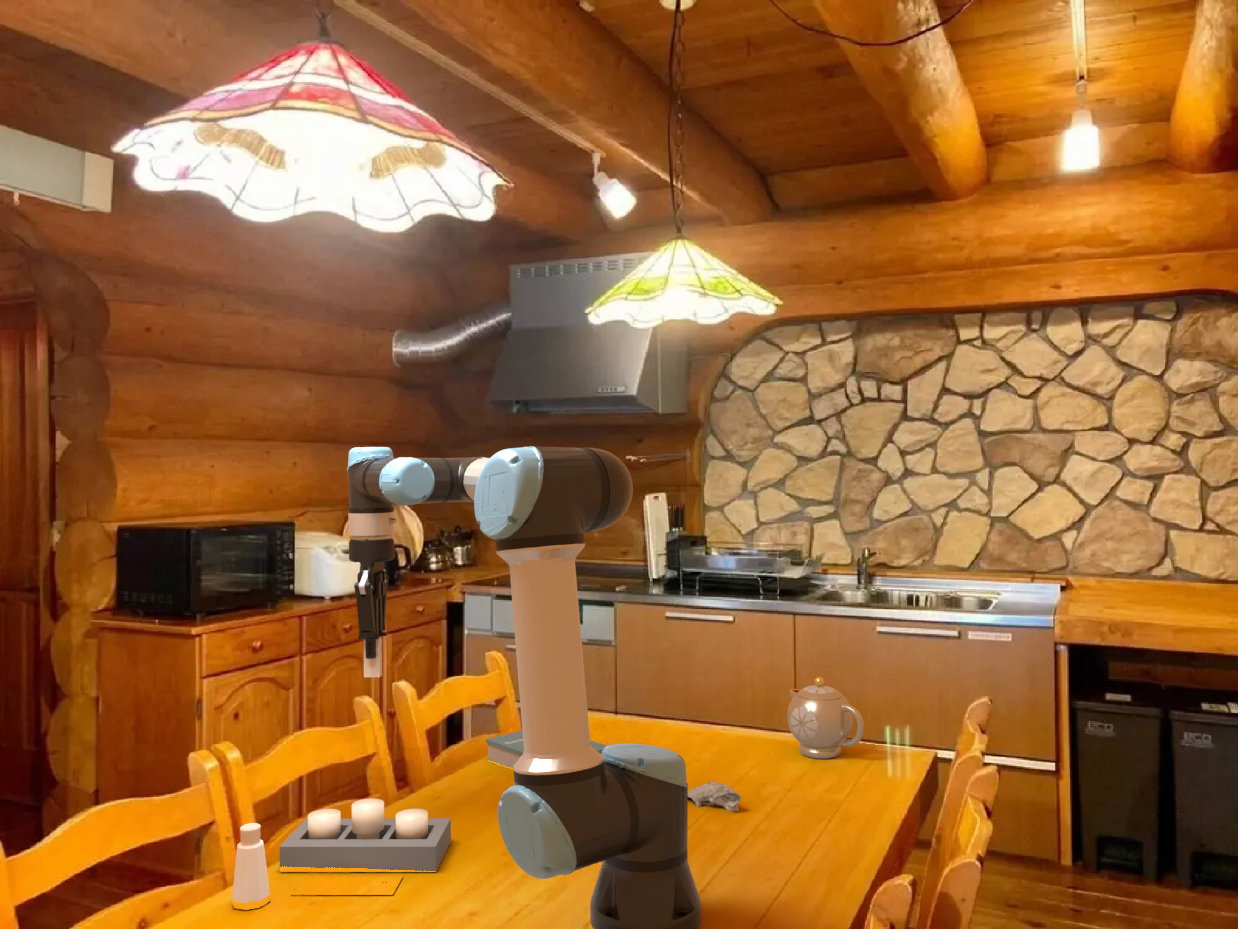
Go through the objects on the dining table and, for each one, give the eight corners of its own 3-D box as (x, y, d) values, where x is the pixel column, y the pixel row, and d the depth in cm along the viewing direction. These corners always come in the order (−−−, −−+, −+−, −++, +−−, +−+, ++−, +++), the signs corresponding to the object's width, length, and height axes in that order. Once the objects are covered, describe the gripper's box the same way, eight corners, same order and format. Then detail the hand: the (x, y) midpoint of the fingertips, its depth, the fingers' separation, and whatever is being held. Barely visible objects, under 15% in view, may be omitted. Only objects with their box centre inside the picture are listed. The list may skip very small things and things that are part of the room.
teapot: (772, 754, 210) (771, 677, 210) (808, 740, 220) (807, 667, 220) (846, 771, 198) (845, 690, 198) (881, 757, 207) (880, 678, 207)
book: (485, 763, 208) (485, 739, 208) (546, 747, 218) (546, 725, 218) (553, 788, 191) (553, 762, 191) (615, 770, 202) (614, 746, 202)
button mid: (379, 847, 154) (379, 809, 154) (347, 847, 155) (347, 809, 155) (387, 835, 159) (387, 798, 159) (357, 835, 160) (356, 798, 160)
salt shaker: (276, 894, 144) (275, 818, 144) (264, 910, 139) (263, 832, 139) (238, 895, 144) (237, 819, 144) (225, 912, 138) (224, 833, 138)
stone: (712, 820, 173) (712, 797, 173) (678, 797, 184) (678, 775, 184) (743, 815, 176) (744, 792, 175) (708, 793, 187) (709, 771, 187)
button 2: (424, 858, 154) (423, 819, 154) (392, 858, 154) (392, 820, 154) (431, 845, 159) (430, 808, 159) (400, 846, 159) (399, 808, 159)
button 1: (335, 858, 155) (334, 820, 155) (303, 858, 155) (303, 820, 155) (345, 845, 160) (344, 808, 160) (314, 845, 160) (313, 808, 160)
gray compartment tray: (435, 873, 151) (435, 846, 151) (279, 873, 151) (279, 847, 151) (450, 842, 163) (450, 818, 163) (306, 842, 163) (306, 818, 163)
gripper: (383, 540, 161) (384, 685, 161) (402, 534, 174) (404, 668, 174) (337, 540, 162) (339, 685, 162) (360, 535, 175) (362, 668, 175)
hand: (373, 676), depth 168 cm, fingers closed
